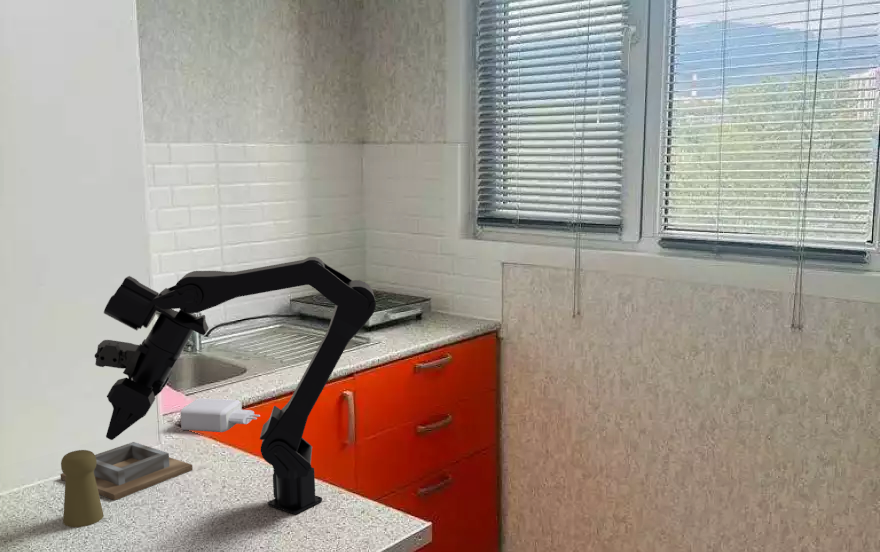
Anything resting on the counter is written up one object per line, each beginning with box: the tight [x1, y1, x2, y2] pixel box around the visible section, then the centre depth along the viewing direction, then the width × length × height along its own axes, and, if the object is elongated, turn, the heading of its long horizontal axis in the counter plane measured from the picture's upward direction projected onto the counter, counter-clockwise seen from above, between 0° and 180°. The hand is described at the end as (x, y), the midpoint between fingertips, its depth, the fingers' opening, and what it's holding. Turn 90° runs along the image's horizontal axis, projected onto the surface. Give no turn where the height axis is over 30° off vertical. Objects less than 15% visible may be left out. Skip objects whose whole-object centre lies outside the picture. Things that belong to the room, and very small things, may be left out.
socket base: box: [60, 441, 193, 501], centre depth 157 cm, size 16×16×4 cm
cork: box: [60, 449, 105, 528], centre depth 138 cm, size 6×6×11 cm
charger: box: [180, 397, 261, 433], centre depth 182 cm, size 5×9×15 cm
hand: (116, 428), depth 138 cm, fingers open, 9 cm apart
